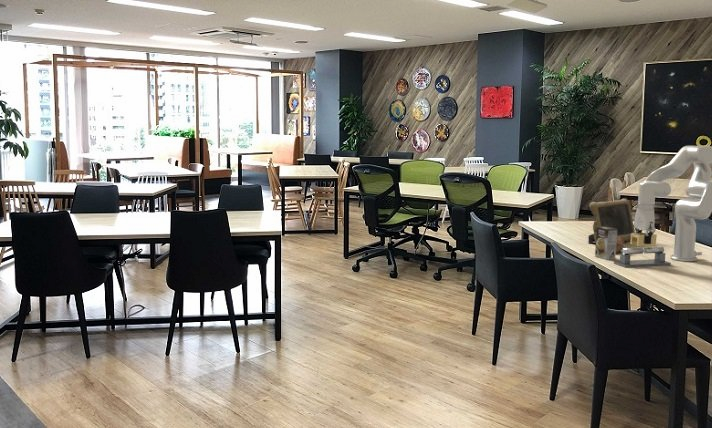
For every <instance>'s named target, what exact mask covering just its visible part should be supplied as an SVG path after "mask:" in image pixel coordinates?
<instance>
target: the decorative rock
mask: <svg viewBox="0 0 712 428" xmlns="http://www.w3.org/2000/svg"><path fill="white" fill-rule="evenodd" d="M624 244H625V242H624V240H623V239H622V238H621V237H620V236H618V235H617V243H616V253H622V249H624V246H625V245H624Z"/></svg>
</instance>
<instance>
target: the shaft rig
mask: <svg viewBox="0 0 712 428" xmlns="http://www.w3.org/2000/svg"><path fill="white" fill-rule="evenodd" d="M642 254H654V258H652V259H636V260H635V259H633V260H631V255H642ZM613 264H614V265H617V266H620V267H622V268H639V267H641V268H642V267H659V266H671V265H672V262H670V261H667V260H666V252H665V247H663V246H646V247H643V248H642V247H630V248H627V247H626V248H623V249H622V251H621V253H620V254H619V260H615V261H614V262H613Z"/></svg>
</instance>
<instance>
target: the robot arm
mask: <svg viewBox="0 0 712 428" xmlns="http://www.w3.org/2000/svg"><path fill="white" fill-rule="evenodd" d="M691 164H693V172H692V175H691V177H690V180H689V182H688V184H687V187H686V188H685V194H686V196H687V197H688V198H681V199H678V200H677V201H676V203H675V206H674V213H675V214H674V215H675V234H674V244H673V245H674V247H673V254H672V255H670V256H669V258H670V259H671V260H674V261H677V262H678V261H679V262H696V261H697V260H698V257H697V256H702V255H703V252H702V251H697V250H695V249H696V237H697V236H696V235H697V234H696V233H697V223H696V221H695V220H706V219H708V218H709V217H710V216H711V214H712V181H711V178H712V169H711V166H710V165H711V164H712V145H710V146H708V145H685V146H683V147H682V148H680V149H679V150H678V152H677V153H675V155H674V156H673V157H672V159H671V160H670V161H669V162H668V163H667V164H666V165H663V166H661V167H659V168H657V169H656V170H654V171H652V172H651V173H650V174H649V175H648V176H647V177H646V178H645V179H644V181H642V182H640V183H639V185H638V199H637V208H636V211H635V215H634V220H633V226H634V230H635V233H640V232H642V233H643V231H645V232H644V233H646V236H645V244H651V237H652V235H653V234H655V232H656V227H655V219H656V218H655V203H656V202H655V200H656V197H660V198H665V197H667V196H669V195H670V194H671V193H672V186H671V184H670V183H668V182H667V181H666V180H670V179H675V178H678V177H680V176H682V175H683V174H684V173H685V172H686V171H687V170H688V168H689V167H690V166H691ZM665 181H666V182H665Z"/></svg>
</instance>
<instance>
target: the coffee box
mask: <svg viewBox="0 0 712 428" xmlns="http://www.w3.org/2000/svg"><path fill="white" fill-rule="evenodd" d="M617 230H618V229H614V228H610V227H606V226H605V227H597V231H596V243H595V247H594V249H595V251H594V252H595V253H594V255H595V256H594V257H595V258H599V259H602V260H605V261H606V260H607V261H608V260H609V259H611V260H616V255H617V254H616V253H617V252H616V243H617Z"/></svg>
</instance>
